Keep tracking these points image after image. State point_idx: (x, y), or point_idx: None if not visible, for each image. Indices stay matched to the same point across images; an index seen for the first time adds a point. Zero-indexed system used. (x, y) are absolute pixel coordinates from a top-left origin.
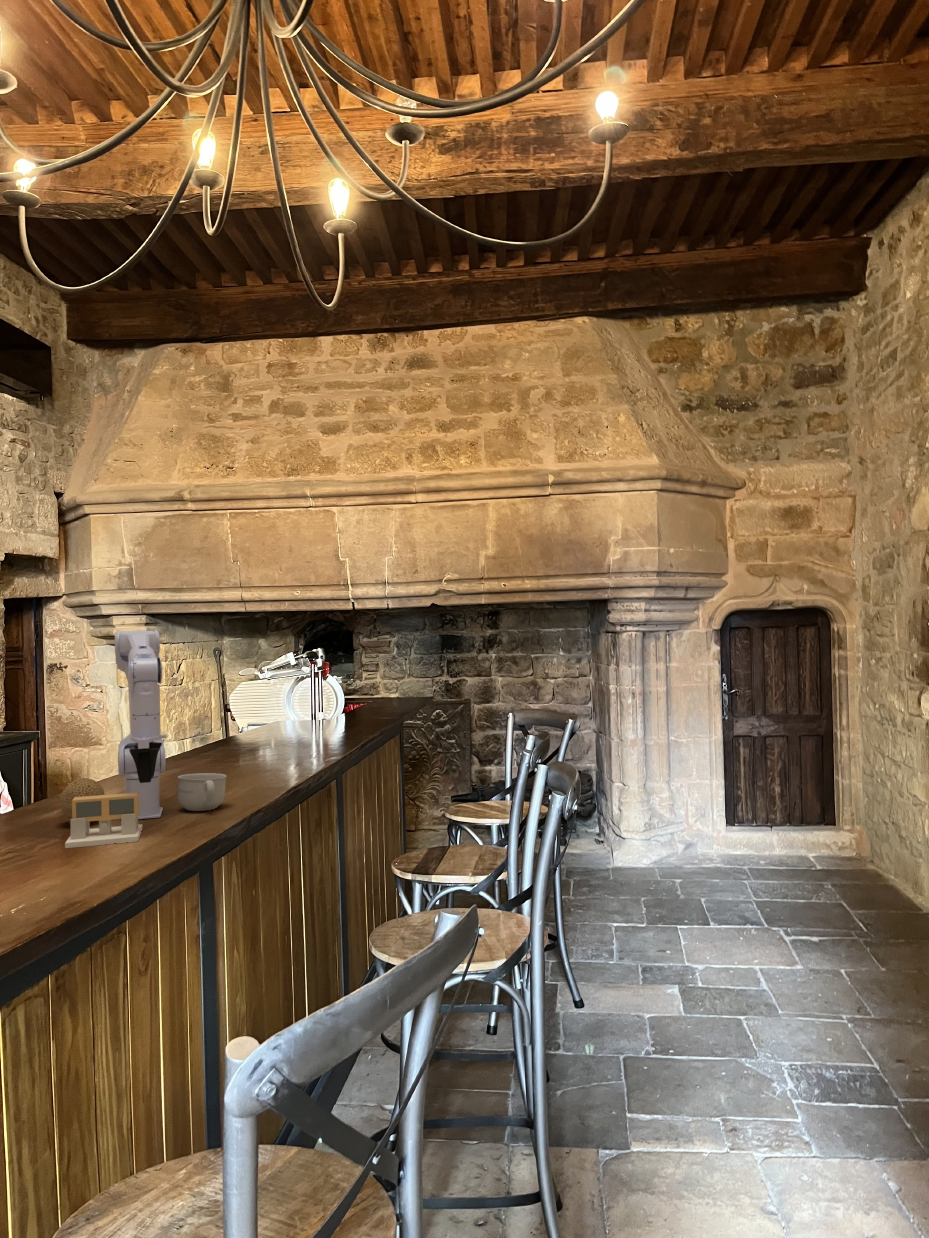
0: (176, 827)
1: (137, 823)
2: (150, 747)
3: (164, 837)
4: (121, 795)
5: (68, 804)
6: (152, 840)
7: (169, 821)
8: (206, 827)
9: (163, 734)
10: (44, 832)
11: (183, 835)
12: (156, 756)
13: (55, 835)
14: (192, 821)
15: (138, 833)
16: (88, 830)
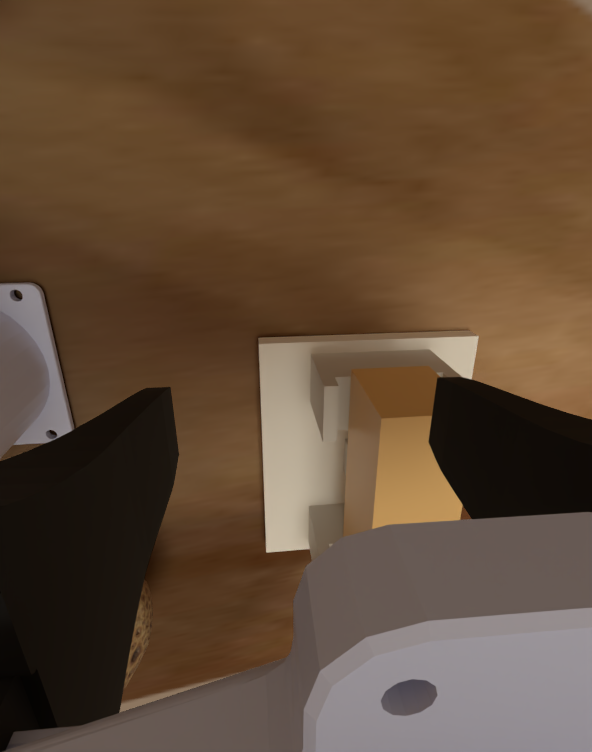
0: (281, 188)
1: (346, 360)
2: (68, 628)
3: (453, 232)
4: (431, 490)
5: (142, 656)
6: (479, 277)
7: (131, 230)
8: (344, 20)
9: (341, 733)
10: (189, 621)
11: (460, 147)
12: (101, 458)
13: (246, 586)
14: (166, 104)
15: (428, 339)
16: (337, 510)
